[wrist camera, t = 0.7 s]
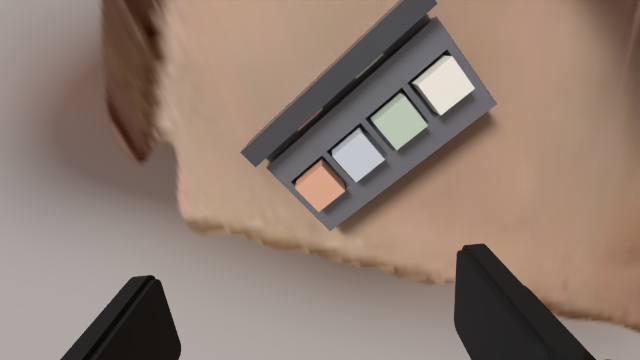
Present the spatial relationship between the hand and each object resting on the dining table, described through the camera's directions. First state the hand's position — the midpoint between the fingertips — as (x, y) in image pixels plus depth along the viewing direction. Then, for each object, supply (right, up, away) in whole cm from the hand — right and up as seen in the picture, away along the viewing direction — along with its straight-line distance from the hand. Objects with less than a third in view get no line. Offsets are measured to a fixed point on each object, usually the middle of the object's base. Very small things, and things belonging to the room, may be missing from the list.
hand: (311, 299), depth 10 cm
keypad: (+5, +10, +25) cm, 27 cm away
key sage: (+8, +10, +22) cm, 25 cm away
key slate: (+4, +7, +23) cm, 25 cm away
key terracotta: (0, +4, +25) cm, 25 cm away
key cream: (+11, +13, +21) cm, 27 cm away
